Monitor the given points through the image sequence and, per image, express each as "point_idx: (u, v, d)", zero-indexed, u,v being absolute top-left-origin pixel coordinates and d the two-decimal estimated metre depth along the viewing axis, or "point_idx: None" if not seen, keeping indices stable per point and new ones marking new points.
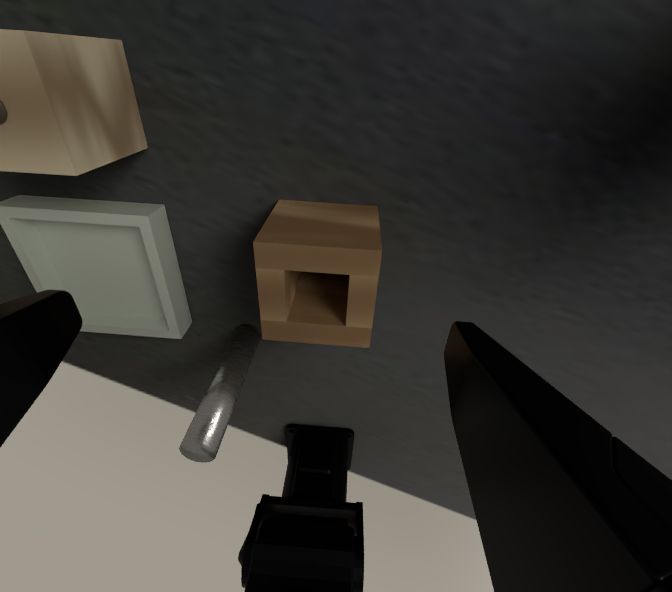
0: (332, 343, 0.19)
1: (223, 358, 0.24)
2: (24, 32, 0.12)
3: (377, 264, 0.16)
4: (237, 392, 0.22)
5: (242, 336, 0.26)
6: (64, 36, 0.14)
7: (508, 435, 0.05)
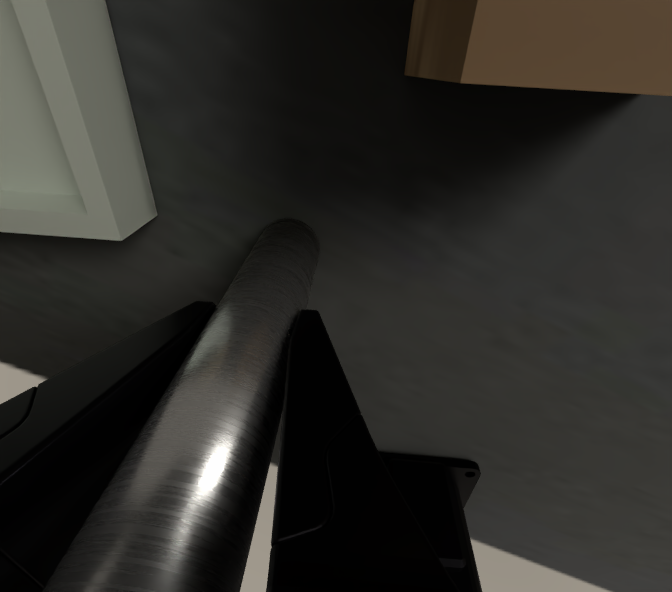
0: None
1: (235, 281, 0.08)
2: None
3: None
4: None
5: (283, 237, 0.10)
6: None
7: None
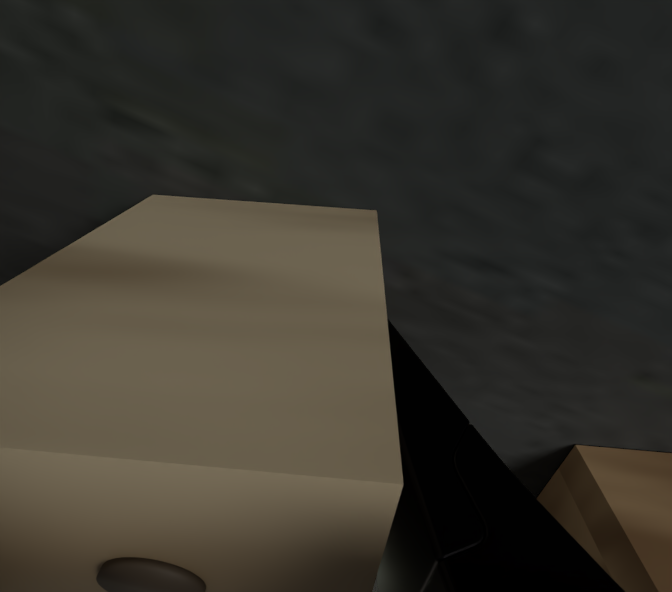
0: None
1: None
2: (401, 487, 0.03)
3: None
4: None
5: None
6: (385, 324, 0.04)
7: None
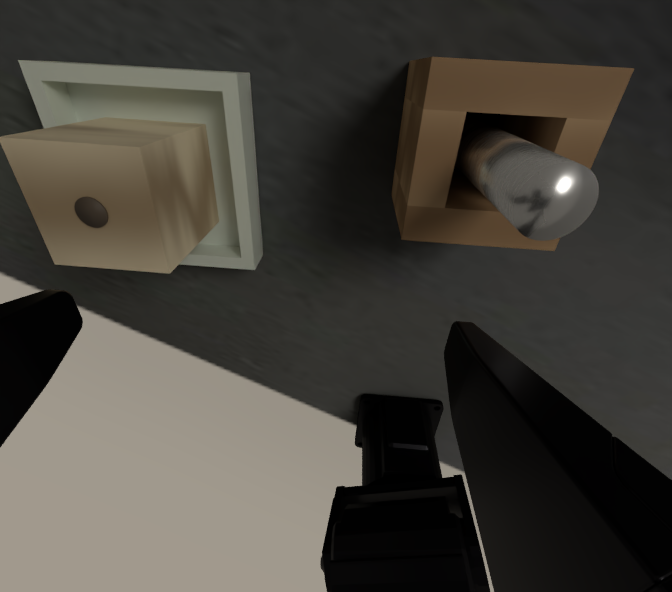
0: (502, 244, 0.14)
1: (469, 131, 0.14)
2: (139, 148, 0.12)
3: (617, 96, 0.11)
4: None
5: (475, 119, 0.15)
6: (167, 139, 0.14)
7: (509, 435, 0.05)
